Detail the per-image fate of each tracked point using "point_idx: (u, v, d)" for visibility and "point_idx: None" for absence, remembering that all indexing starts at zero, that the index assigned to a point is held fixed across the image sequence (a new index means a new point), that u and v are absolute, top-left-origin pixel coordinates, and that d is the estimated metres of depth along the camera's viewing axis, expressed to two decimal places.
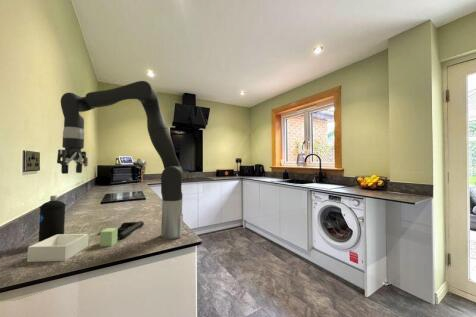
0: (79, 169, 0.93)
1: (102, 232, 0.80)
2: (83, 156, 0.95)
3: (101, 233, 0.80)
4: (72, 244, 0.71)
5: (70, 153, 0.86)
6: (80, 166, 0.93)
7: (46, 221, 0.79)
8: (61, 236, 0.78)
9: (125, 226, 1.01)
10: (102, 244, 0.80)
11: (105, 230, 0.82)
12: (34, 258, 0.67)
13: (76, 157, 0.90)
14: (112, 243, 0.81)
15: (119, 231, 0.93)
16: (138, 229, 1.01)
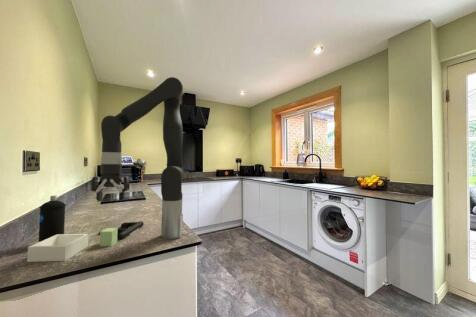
0: (101, 197, 0.83)
1: (102, 232, 0.80)
2: (97, 182, 0.84)
3: (101, 233, 0.80)
4: (72, 244, 0.71)
5: None
6: (101, 193, 0.84)
7: (46, 221, 0.79)
8: (61, 236, 0.78)
9: (125, 226, 1.01)
10: (102, 244, 0.80)
11: (105, 230, 0.82)
12: (34, 258, 0.67)
13: None
14: (112, 243, 0.81)
15: (119, 231, 0.92)
16: (138, 229, 1.00)
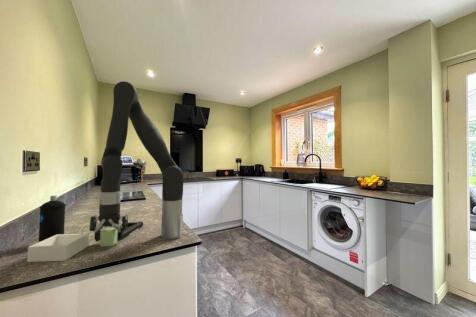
0: (99, 236, 0.83)
1: (102, 232, 0.80)
2: (96, 221, 0.83)
3: (101, 233, 0.80)
4: (72, 244, 0.71)
5: None
6: None
7: (46, 221, 0.79)
8: (61, 236, 0.78)
9: None
10: (102, 244, 0.80)
11: (105, 230, 0.82)
12: (34, 258, 0.67)
13: None
14: (112, 243, 0.81)
15: None
16: (137, 229, 1.00)
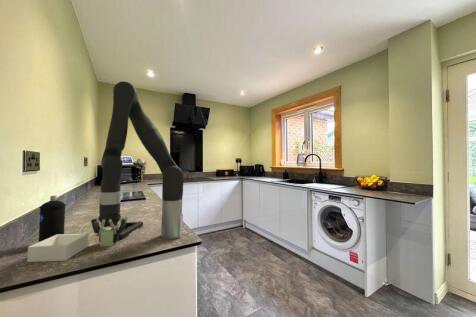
0: None
1: (102, 232, 0.80)
2: (98, 223, 0.83)
3: (101, 233, 0.80)
4: (72, 244, 0.71)
5: None
6: None
7: (46, 221, 0.79)
8: (61, 236, 0.78)
9: None
10: (102, 244, 0.80)
11: (105, 229, 0.82)
12: (34, 258, 0.67)
13: None
14: (112, 243, 0.81)
15: None
16: (137, 229, 1.00)
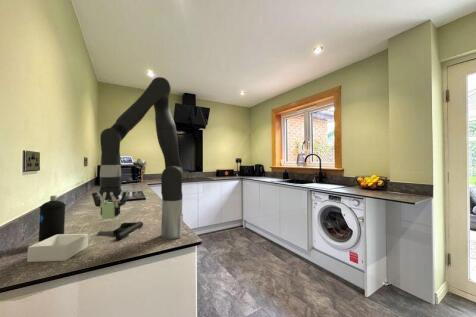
0: None
1: (103, 205, 0.80)
2: (99, 197, 0.83)
3: (102, 206, 0.80)
4: (72, 244, 0.71)
5: None
6: None
7: (46, 221, 0.79)
8: (61, 236, 0.78)
9: (124, 226, 1.00)
10: (104, 217, 0.80)
11: (106, 203, 0.82)
12: (34, 258, 0.67)
13: None
14: (114, 216, 0.81)
15: (117, 231, 0.92)
16: None
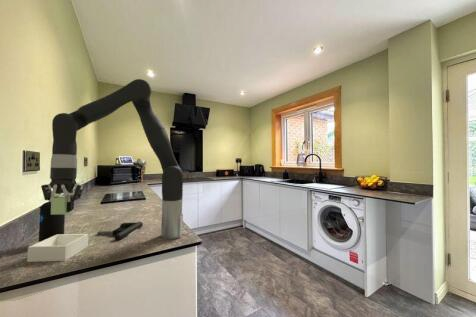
0: None
1: (53, 199, 0.72)
2: (50, 190, 0.74)
3: (52, 200, 0.72)
4: (72, 244, 0.71)
5: None
6: None
7: (46, 221, 0.79)
8: (61, 236, 0.78)
9: (124, 227, 1.00)
10: (53, 212, 0.71)
11: (57, 197, 0.74)
12: (34, 258, 0.67)
13: None
14: (65, 211, 0.73)
15: (117, 232, 0.91)
16: (136, 230, 0.99)
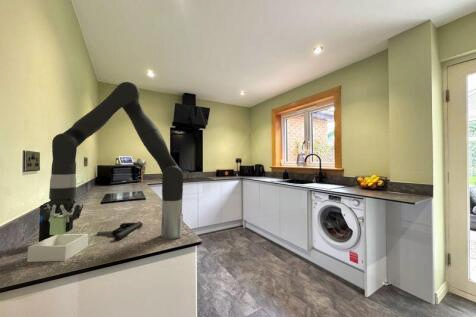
0: None
1: (52, 219, 0.71)
2: (49, 209, 0.74)
3: (51, 220, 0.71)
4: (72, 244, 0.71)
5: None
6: None
7: (46, 221, 0.79)
8: (61, 236, 0.78)
9: (123, 227, 1.00)
10: (52, 232, 0.71)
11: (56, 216, 0.73)
12: (34, 258, 0.67)
13: None
14: (64, 231, 0.72)
15: (116, 232, 0.91)
16: (136, 230, 0.99)
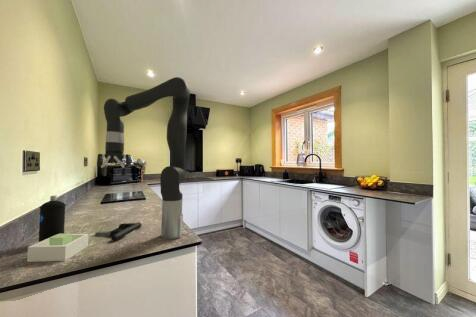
0: (105, 172, 0.93)
1: (51, 238, 0.71)
2: (102, 159, 0.93)
3: (50, 240, 0.71)
4: (72, 244, 0.71)
5: None
6: (106, 169, 0.93)
7: (46, 221, 0.79)
8: None
9: (122, 227, 0.99)
10: None
11: (56, 235, 0.73)
12: (34, 258, 0.67)
13: None
14: None
15: (114, 232, 0.90)
16: None
